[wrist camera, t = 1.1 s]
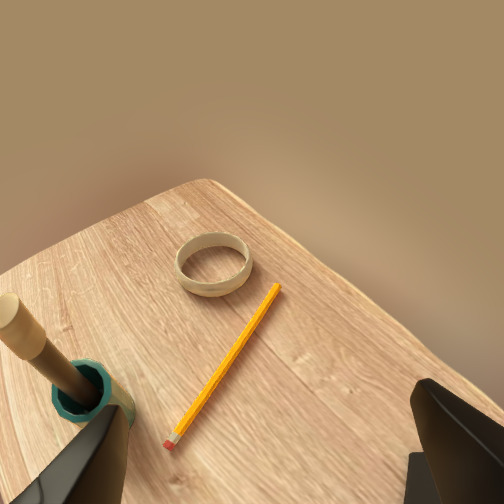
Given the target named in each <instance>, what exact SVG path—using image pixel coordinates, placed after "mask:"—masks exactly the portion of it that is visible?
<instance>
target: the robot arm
mask: <svg viewBox="0 0 504 504" xmlns="http://www.w3.org/2000/svg"><path fill="white" fill-rule="evenodd" d="M410 405H411V408H412V412H413V416H414V419H415V423H416V427H417V431H418V435H419V439H420V442H421V445H422V448H423V451H424V453H425V456H426V459H427V462H428V464H429V467H430V470H431V473H432V476H433V479H434V482H435V485H436V488H437V491H438V494H439V497H440V500H441V503H442V504H504V427H503V426H501V425H500V424H498V423H497V422H495V421H494V420H492V419H491V418H489V417H488V416H486V415H485V414H483V413H482V412H480V411H479V410H477V409H476V408H474V407H473V406H471V405H470V404H468V403H467V402H465V401H464V400H462V399H461V398H459V397H458V396H456V395H455V394H453V393H452V392H450V391H449V390H447V389H446V388H444V387H443V386H441V385H440V384H438V383H437V382H435V381H434V380H432V379H430V378H426V379H422V380H419V381H418V382H417V383H416V385H415V388H414V390H413V392H412V394H411V397H410ZM128 431H129V423H128V420H127V418H126V415H125V413H124V411H123V409H122V407H121V406H120V405H119V404H106V405H105V406H104V407H103V408H102V409H101V410H100V411H99V412H98V413H97V414H96V415H95V416H94V417H93V418H92V419H91V421H90V422H89V423H88V424H87V425H86V426H85V427H84V428H83V429H82V430H81V431H80V432H79V433H78V434H77V435H76V436H75V437H74V438H73V440H72V441H71V442H70V443H69V444H68V445H67V446H66V447H65V448H64V449H63V450H62V451H61V452H60V453H59V454H58V455H57V456H56V457H55V459H54V460H53V461H52V462H51V463H50V464H49V465H48V466H47V467H46V468H45V469H44V470H43V471H42V472H41V473H40V474H39V476H38V477H36V479H35V480H34V481H33V482H32V483H31V484H30V485H29V486H28V487H27V488H26V489H25V490H24V491H23V492H22V493H21V494H20V495H18V496H17V497H16V498H15V499H14V500H13V501H12V502H10V503H9V504H121V498H122V492H123V485H124V479H125V473H126V464H127V446H128Z"/></svg>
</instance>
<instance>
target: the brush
mask: <svg viewBox="0 0 504 504" xmlns="http://www.w3.org/2000/svg"><path fill="white" fill-rule="evenodd" d="M0 339H1V340H2V341H3V343H4V344H5V345H6V346H7V347H9V348H10V349H11V350H12V351H13V352H14V353H15V354H16V355H17V356H18V357H19V358H20V359H22V360H27V361H28V362H29V363H30V364H31V365H32V366H33V367H34V368H35V369H36V370H38V371H39V372H40V373H41V374H42V375H43V376H44V377H46V378H47V379H48V380H49V381H50V382H51V383H53V384H54V385H55V386H56V387H57V388H59V389H60V390H61V391H62V392H64V393H65V394H66V395H67V396H69V397H70V398H71V399H72V400H74V401H75V402H76V403H78V404H79V405H80V406H82V407H83V408H84V409H86V410H87V411H88V412H91V411H92V410H94V409H95V408H96V407H97V406H99V404H100V401H101V399H102V397H103V395H104V394H103V393H102V392H100V391H99V390H98V389H97V388H96V387H95V386H94V385H93V384H92V383H91V382H90V381H89V380H88V379H87V378H85V377H84V376H83V375H82V374H81V373H80V372H79V371H78V370H77V369H76V368H75V367H74V366H73V365H72V364H71V363H70V362H69V361H68V360H67V359H66V357H65V356H64V355H63V354H62V353H61V352H60V351H59V350H58V349H57V348H56V347H55V346H54V345H53V344H52V342H51V341H50V340H49V339H48V338H47V337H46V333H45V330H44V329H43V327H42V326H41V325H40V324H39V323H38V322H37V320H36V319H35V318H34V317H33V315H32V314H31V313H30V312H29V310H28V309H27V308H26V307H25V305H24V304H23V303H22V301H21V300H20V299H19V298H18V296H17V295H16V294H14V293H6V294H3V295H1V296H0Z"/></svg>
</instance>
